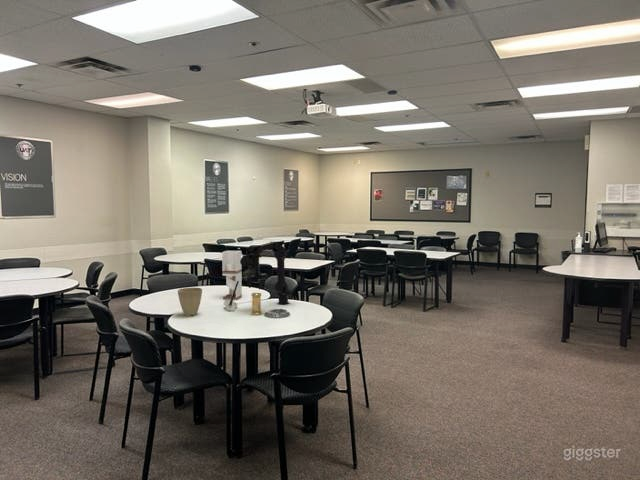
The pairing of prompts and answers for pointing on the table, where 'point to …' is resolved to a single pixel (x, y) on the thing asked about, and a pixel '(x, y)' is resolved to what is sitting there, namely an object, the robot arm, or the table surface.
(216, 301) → the table surface
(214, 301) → the table surface
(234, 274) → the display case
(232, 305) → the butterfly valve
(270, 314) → the flange
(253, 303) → the gold flared cylinder
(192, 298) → the plant pot
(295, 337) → the table surface
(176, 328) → the table surface
